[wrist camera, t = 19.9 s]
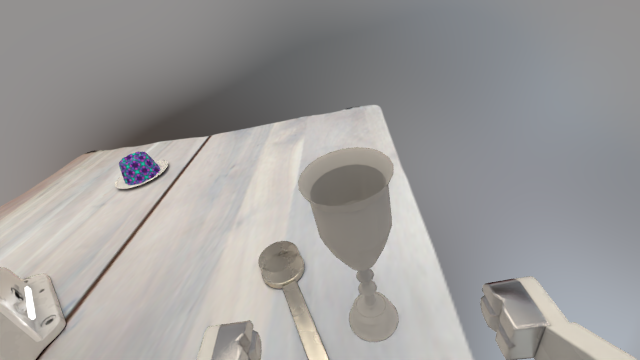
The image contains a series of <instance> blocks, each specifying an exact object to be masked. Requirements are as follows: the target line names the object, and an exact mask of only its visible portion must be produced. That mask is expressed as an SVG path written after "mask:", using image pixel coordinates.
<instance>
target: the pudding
mask: <svg viewBox="0 0 640 360" xmlns="http://www.w3.org/2000/svg"><path fill="white" fill-rule="evenodd" d="M119 166H120V169H121V172H122V176H121V177H120V178H119V179H118V180H117V181H116V183H115V186H116V187H117V188H120V189H126V188H132V187H136V186H139V185H141V184H144V183H146V182H148V181H150V180H152V179H154V178H155V177H157V176H158V175H160V174H161V173H162V172H163V171H164V170H165V169H166V168H167V166H168V162H167V161H165V160H155V161H154V160H153V159H152V158H151V157H150V156H149V155H148V154H147V153H145V152H136V153H134V154H130V155H128V156H127V157H124V158H123V159H122V160H121V161H120V163H119Z"/></svg>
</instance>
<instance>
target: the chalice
mask: <svg viewBox="0 0 640 360" xmlns="http://www.w3.org/2000/svg"><path fill="white" fill-rule="evenodd" d="M392 175H393V163H392V162H391V160H390V158H389V157H388V156H386V155H385V154H383V153H382V152H380V151H377V150H374V149H370V148H359V147H355V148H346V149H341V150H337V151H333V152H330V153H328V154H326V155H323V156H321V157H319V158H317V159H316V160H315V161H313V162H312V163H310V164H309V165H308V166H307V167H306V168H305V170H304V171H303V172H302V173H301V176H300V178H299V180H298V186H299V191H300V192H301V194H302V195H303V197H304V198H305V199H306V200H308V201H309V202H310V204H311V208H312V211H313V214H314V218H315V221H316V225H317V228H318V232H319V235H320V238H321V239H322V241H323V242H324V244H325V245H326V246H327V247H328V248H329V250H330V251H331V252H332V253H333V254H334V255H335V256H336V257H337V258H338V259H340V260H341V261H342V262H344V263H345V264H346V265H348V266H349V267H350V268H352V269H354V270H357V271H358V272H357V275H356V277H357V279H358V281H360V282H361V283H360V285H359V288H358V290H359V292H360V294H361V295H359V296H358V297H357V298H356V299H355V302H354V304H353V306H352V309H351V311H350V315H349V322H350V326H351V328H352V330H353V331H354V333H355V334H356V335H357V336H359V337H360V338H361V339H364V340H366V341H371V342H378V341H382V340H385V339H387V338H388V337H390V336H391V335H392V334H393V333H394V331H395V330H396V328H397V325H398V313H397V310H396V308H395V306H394V305H393V304H392V303H391V302H390V301H389V300H388V299H387V298H386V297H385V296H384V295H383V294H381V293H379V292H376V290H377V286H376V284H375V282H373V281H371V280H372V279H373V276H374V273H373V271H372V270H371V269H369V268H371V267H372V266H373V265H374V264H375V263H376V261H377V259H378V258H379V256H380V254H381V252H382V251H383V249H384V247H385V244H386V242H387V239H388V236H389V233H390V230H391V226H392V216H391V207H390V197H389V188H388V184H389V182H390V180H391V177H392Z"/></svg>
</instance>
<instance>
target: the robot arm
mask: <svg viewBox="0 0 640 360" xmlns="http://www.w3.org/2000/svg"><path fill="white" fill-rule="evenodd" d="M482 291H483V293H484V296H483V297H482V298H481V303H480V305H481V310H482V313H483V316H484V319H485V321H486V323H487V325H488V326H489V327H490V328H491V329H492V330H494V331H495V332H497V333H496V339H495V340H496V342H497V344H498V346H499V348H500V350H501V352H502V354H503V355H504V357H505V359H506V360H517V359H526V358H534V359H535V360H638V359H636V358H634V357H633V356H631V355H629V354H627V353H626V352H624V351H622V350H621V349H619V348H617V347H616V346H614V345H612V344H611V343H609V342H607V341H606V340H604V339H602V338H600V337H599V336H597V335H595V334H594V333H592V332H590V331H589V330H587V329H585V328H584V327H582V326H580V325H579V324H577V323H575V322H573V323H569V321H568V320H567V319H566V317H565V316H564V315H563V313H562V312H561V311H560V310H559V308H558V307H557V306H556V304H555V303H554V302H553V300H552V299H551V298H550V297H549V295H548V294H547V293H546V291H545V290H544V289H543V288H542V286H541V285H540V284H539V282H538V281H537V280H536V279H535V278H533V277H530V276H529V277H523V278H517V279H509V280H503V281H498V282H492V283H486V284H484V285H483V288H482ZM65 325H66V322H65V319H64V316H63V313H62V310H61V307H60V305H59V302H58V299H57V296H56V293H55V290H54V288H53V285H52V282H51V279H50V277H49V276H47V275H46V274H38V275H34V276H31V277H28V278H25V279H20V278H19V277H18V276H17V275H15V274H14V273H13V272H11V271H10V270H9V269H7V268H4V267H0V360H36V358H37V357H38V356H39V354H40V353H41V352H42V351H43V349H44V348H45V347H46V346H47V345H48V344H49V343H50V342H51V341H53V340H54V339H55V338H56V337H57V336H58V334H59V333H60V332H61V331H62V330H63V329H64V327H65ZM261 351H262V350H261V340H260V336H259V334H258V332H256V331H254V330H253V324H252V322H251V321H250V320H249V321H243V322H236V323H230V324H221V325H215V326H209V327H208V328H207V329H206V331H205V333H204V337H203V340H202V343H201V347H200V350H199V354H198V357H197V360H261Z"/></svg>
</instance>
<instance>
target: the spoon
mask: <svg viewBox="0 0 640 360" xmlns="http://www.w3.org/2000/svg"><path fill="white" fill-rule="evenodd" d="M259 266H260V268H261V271H262V276H263V279H264V281H265V283H266V284H267V285H268V286H270V287H272V288H276V289H282V288H283V291H284V294H285V297H286V299H287V302H288V305H289V308H290V310H291V313H292V316H293V319H294V322H295V324H296V327H297V330H298V333H299V336H300V338H301V341H302V344H303V347H304V349H305V352H306V355H307V358H308V360H329V358H328V355H327V353H326V351H325V348H324V346H323V344H322V341H321V339H320V336H319V334H318V332H317V329H316V327H315V325H314V322H313V320H312V317H311V315H310V313H309V310H308V308H307V305H306V303H305V301H304V298H303V296H302V294H301V291H300V289H299V286H298V284H297V281H298V280H299V279H300V278H301V276H302V274H303V272H304V262H303V259H302V257H301V256H300V254H299V251H298V249H297V247H296V246H295V245H294V244H293V243H291V242H288V241H280V242H276V243H274V244H271V245H270V246H268V247H267V248H266V249H265V250H264V251H263V252H262V253H261V255H260V257H259Z"/></svg>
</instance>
